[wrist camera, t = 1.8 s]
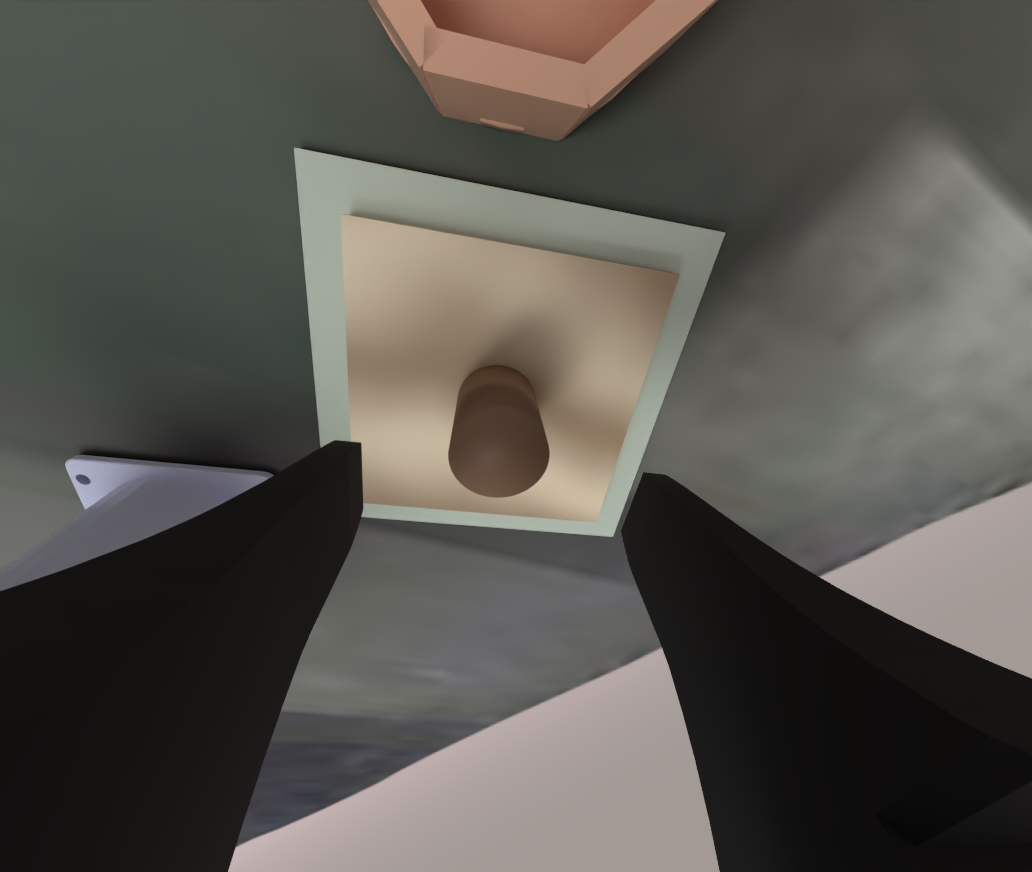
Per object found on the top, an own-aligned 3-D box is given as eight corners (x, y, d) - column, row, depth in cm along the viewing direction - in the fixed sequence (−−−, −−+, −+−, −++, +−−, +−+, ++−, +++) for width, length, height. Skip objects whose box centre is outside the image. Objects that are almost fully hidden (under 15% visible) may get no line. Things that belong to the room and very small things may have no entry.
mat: (610, 531, 20) (612, 536, 20) (329, 508, 18) (326, 514, 18) (719, 232, 14) (725, 232, 13) (299, 149, 12) (293, 147, 11)
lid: (592, 511, 19) (621, 593, 15) (359, 491, 17) (318, 575, 13) (670, 271, 14) (749, 293, 10) (348, 214, 12) (277, 210, 8)
